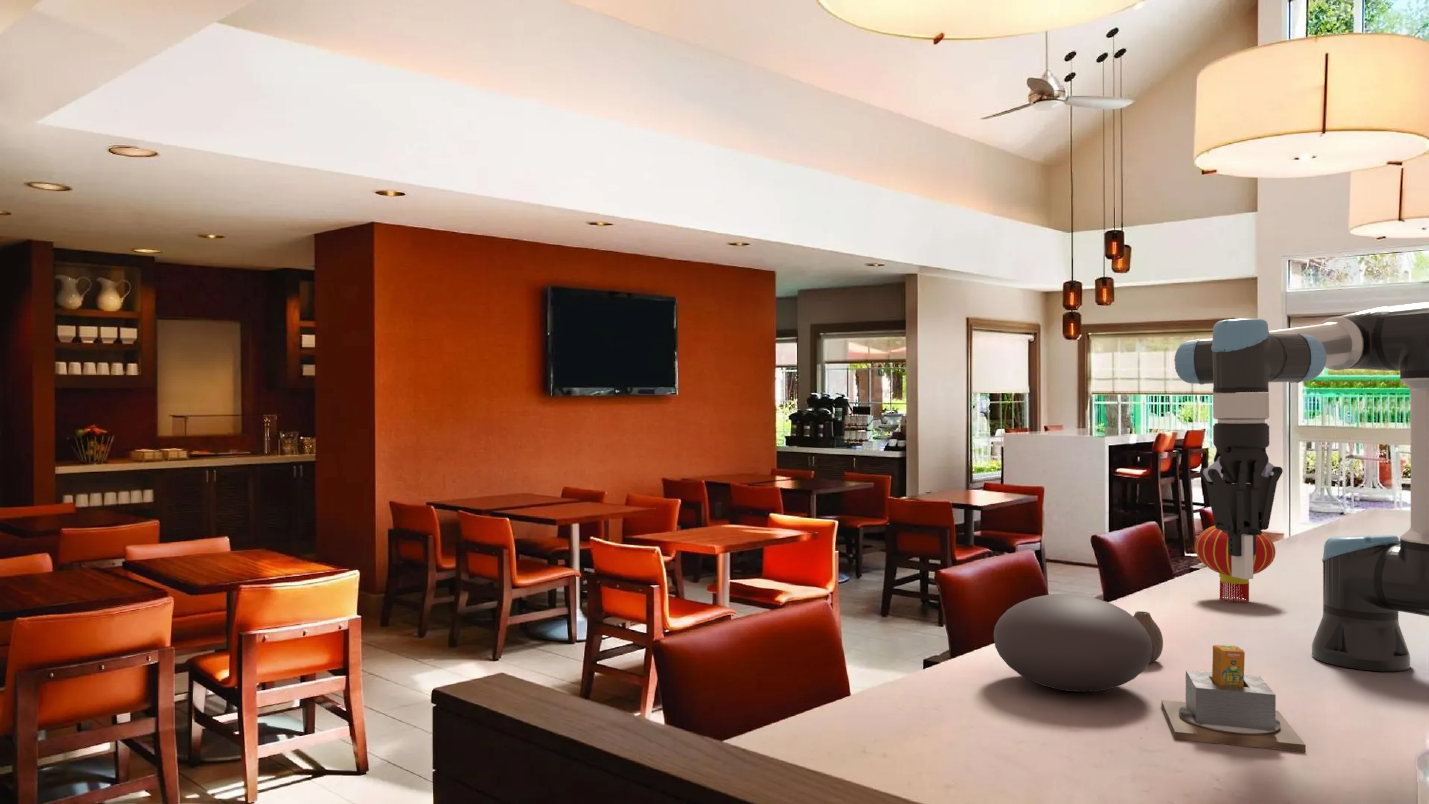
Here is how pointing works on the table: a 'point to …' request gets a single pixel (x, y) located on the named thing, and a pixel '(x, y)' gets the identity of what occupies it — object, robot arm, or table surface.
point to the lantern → (1217, 558)
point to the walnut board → (1186, 731)
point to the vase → (1151, 633)
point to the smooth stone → (1072, 642)
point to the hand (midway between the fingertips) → (1242, 577)
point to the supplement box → (1228, 666)
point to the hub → (1230, 705)
